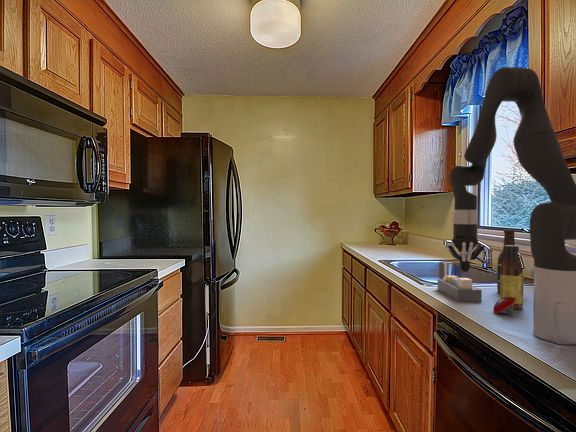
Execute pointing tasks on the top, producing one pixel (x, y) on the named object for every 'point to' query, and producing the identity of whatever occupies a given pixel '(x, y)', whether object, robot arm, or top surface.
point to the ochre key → (448, 278)
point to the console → (459, 291)
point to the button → (504, 305)
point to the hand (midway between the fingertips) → (464, 271)
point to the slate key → (454, 281)
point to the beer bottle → (507, 241)
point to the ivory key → (464, 283)
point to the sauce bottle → (511, 276)
